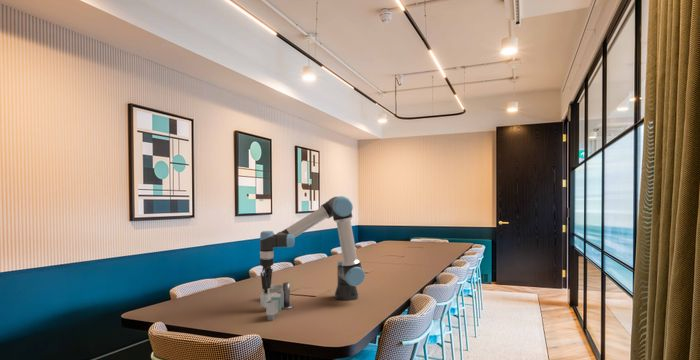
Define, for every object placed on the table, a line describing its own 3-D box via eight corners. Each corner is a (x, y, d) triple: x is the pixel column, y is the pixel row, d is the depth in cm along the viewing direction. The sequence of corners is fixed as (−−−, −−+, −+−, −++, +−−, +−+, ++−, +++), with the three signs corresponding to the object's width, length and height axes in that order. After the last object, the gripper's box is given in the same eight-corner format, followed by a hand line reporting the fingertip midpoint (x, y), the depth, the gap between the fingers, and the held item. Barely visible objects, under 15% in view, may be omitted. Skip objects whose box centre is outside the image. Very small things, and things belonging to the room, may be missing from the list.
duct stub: (272, 315, 218) (272, 296, 219) (281, 315, 217) (281, 296, 218) (265, 320, 208) (265, 301, 208) (274, 321, 207) (274, 301, 208)
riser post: (281, 305, 238) (281, 281, 238) (294, 306, 236) (295, 281, 237) (277, 309, 230) (277, 284, 231) (290, 309, 229) (290, 284, 229)
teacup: (286, 297, 258) (287, 284, 258) (282, 301, 247) (282, 288, 248) (265, 296, 259) (265, 284, 260) (260, 301, 249) (260, 287, 249)
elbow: (280, 305, 234) (280, 289, 234) (284, 307, 230) (284, 291, 230) (260, 308, 227) (260, 292, 227) (264, 310, 223) (264, 294, 223)
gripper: (264, 256, 238) (264, 297, 237) (256, 259, 226) (255, 302, 225) (276, 256, 237) (276, 297, 236) (268, 260, 224) (268, 303, 224)
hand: (266, 300), depth 230 cm, fingers closed
